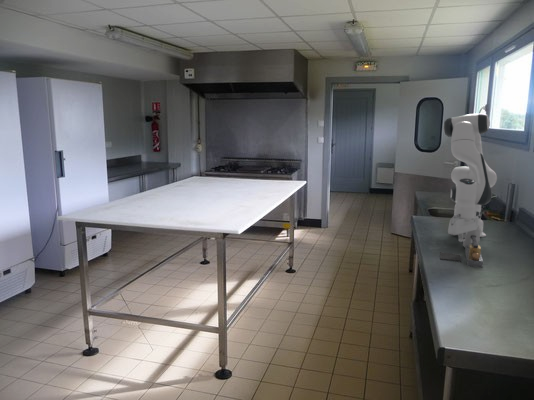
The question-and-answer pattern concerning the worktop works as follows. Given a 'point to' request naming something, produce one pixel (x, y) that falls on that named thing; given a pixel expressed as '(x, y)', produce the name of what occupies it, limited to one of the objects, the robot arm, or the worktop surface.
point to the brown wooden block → (474, 250)
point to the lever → (474, 241)
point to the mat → (450, 257)
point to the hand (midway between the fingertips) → (461, 241)
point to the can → (468, 239)
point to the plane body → (473, 258)
